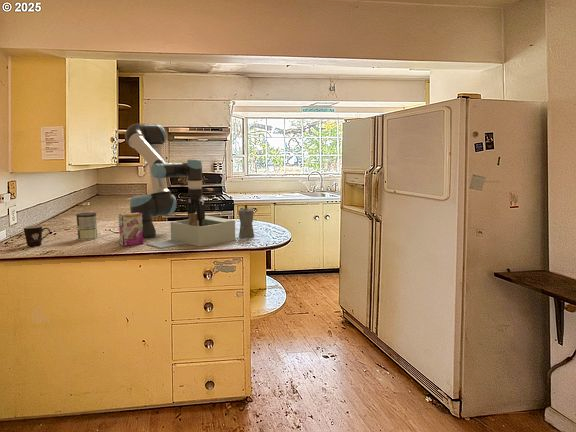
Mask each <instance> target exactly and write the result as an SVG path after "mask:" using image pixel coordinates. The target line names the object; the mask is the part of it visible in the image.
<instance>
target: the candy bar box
mask: <svg viewBox="0 0 576 432" xmlns="http://www.w3.org/2000/svg"><path fill="white" fill-rule="evenodd" d="M118 229H119V230H118V231H119V233H118V234H119V235H118V236H119V246H122V247H128V246H129V247H130V246H131V247H132V246H136V245H137V246H138V245H142V244H144V238H143V217H142V213H131V212H130V213H129V212H128V213H118Z"/></svg>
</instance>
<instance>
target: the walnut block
mask: <svg viewBox="0 0 576 432" xmlns="http://www.w3.org/2000/svg"><path fill="white" fill-rule="evenodd" d="M188 219H189V225H192V226H197V219H198V217H197V212H195V213H189V217H188ZM202 226H204V219H203V220H202Z"/></svg>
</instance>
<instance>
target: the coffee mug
mask: <svg viewBox="0 0 576 432" xmlns="http://www.w3.org/2000/svg"><path fill="white" fill-rule="evenodd" d="M22 229H23V232H24V236H25V241H26V245H27V247H28V246H38V247H40V246H39V245H41V246H42V241H43V240H44V239H45V238H47V237H49V235H50V233H51V229H50V228H49V227H43V225H27V226H24V227H23V228H22ZM44 230H48V233H47V234H46V235H44V236H42V235H43V231H44Z"/></svg>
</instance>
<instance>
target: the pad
mask: <svg viewBox="0 0 576 432" xmlns="http://www.w3.org/2000/svg"><path fill="white" fill-rule="evenodd" d="M185 244H186V243H182V242H178V241H174V240H171V239H168V240H167V239H166V240H160V241H154V242H148V243H146V246H150V247H153V248H157V249H160V250H162V249H166V248H173V247H177V246H183V245H185Z"/></svg>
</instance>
